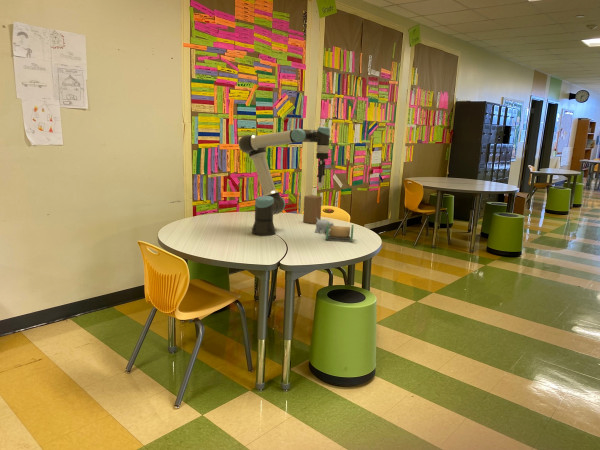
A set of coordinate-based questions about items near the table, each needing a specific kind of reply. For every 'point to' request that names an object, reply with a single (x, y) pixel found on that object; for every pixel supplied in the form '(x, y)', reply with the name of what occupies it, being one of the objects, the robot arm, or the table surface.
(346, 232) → the cylinder
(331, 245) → the table surface
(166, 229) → the table surface
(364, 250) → the table surface
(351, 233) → the holder
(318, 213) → the wooden block
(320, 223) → the hippopotamus toy
